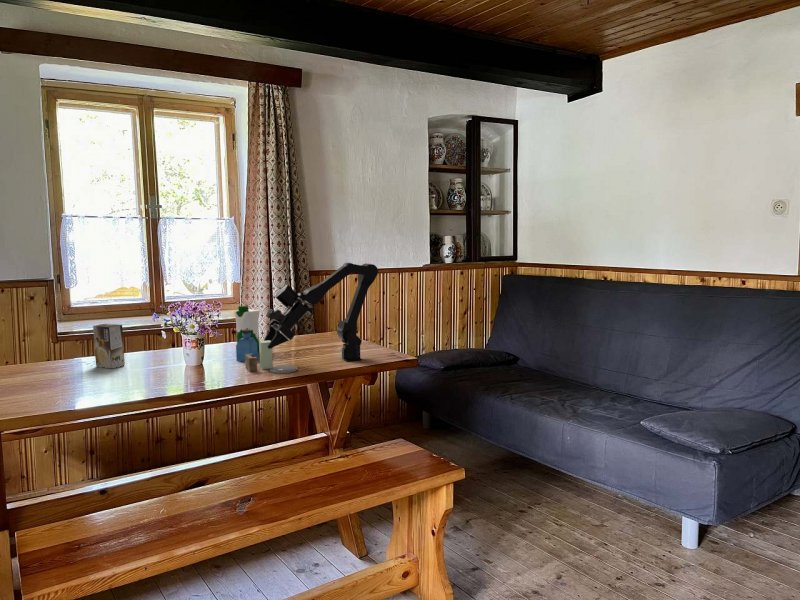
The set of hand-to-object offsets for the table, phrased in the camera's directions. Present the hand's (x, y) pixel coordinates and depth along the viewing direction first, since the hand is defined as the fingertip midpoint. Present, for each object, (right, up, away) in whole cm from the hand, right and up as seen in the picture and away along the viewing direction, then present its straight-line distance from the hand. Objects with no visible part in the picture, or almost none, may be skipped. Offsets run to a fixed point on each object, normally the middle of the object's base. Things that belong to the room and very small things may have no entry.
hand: (265, 345), depth 230 cm
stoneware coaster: (+7, -9, -3) cm, 12 cm away
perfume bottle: (-11, -7, +16) cm, 20 cm away
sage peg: (0, -8, +1) cm, 8 cm away
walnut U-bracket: (-5, -9, -1) cm, 10 cm away
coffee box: (-61, -8, +5) cm, 62 cm away
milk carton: (-14, -5, +30) cm, 33 cm away
